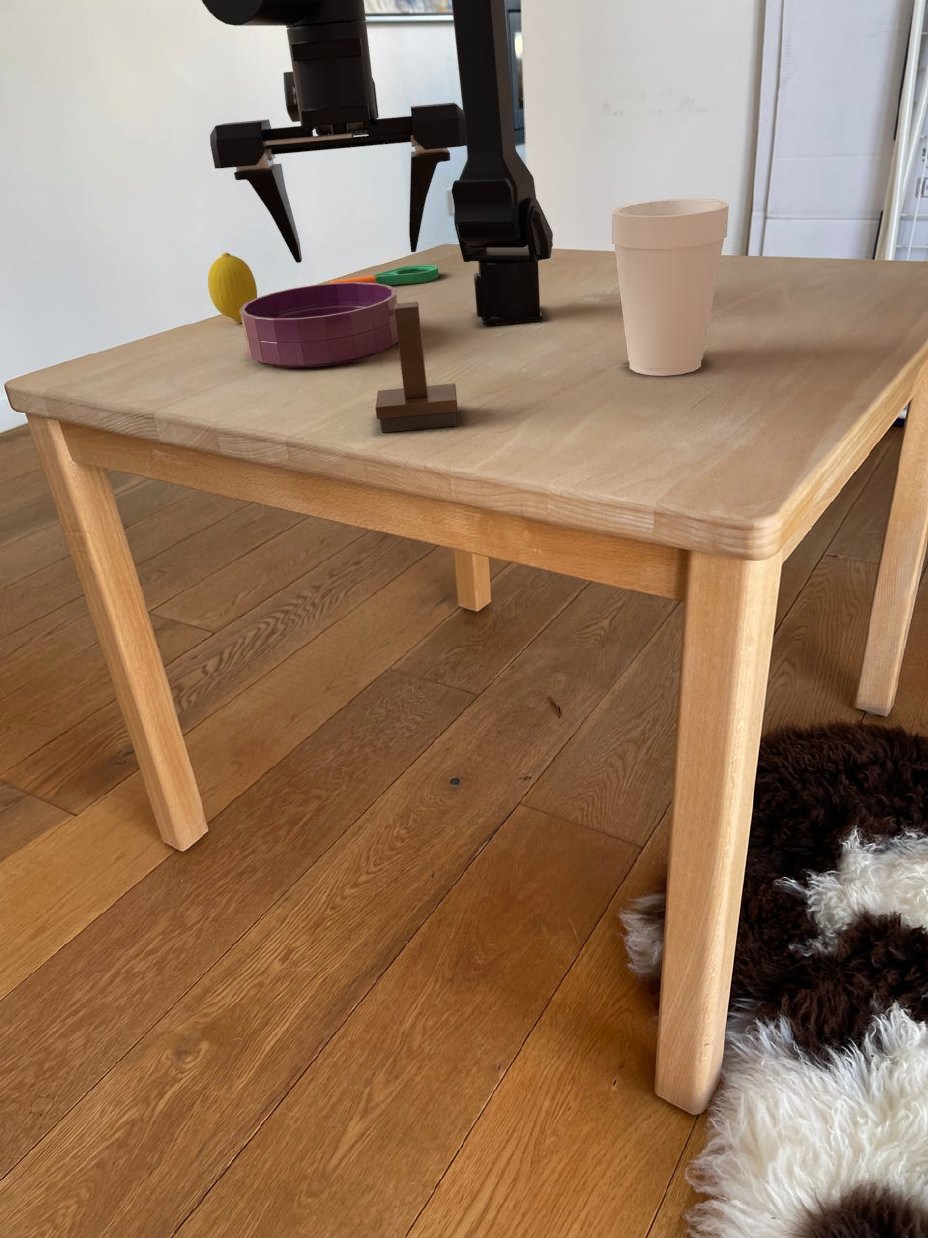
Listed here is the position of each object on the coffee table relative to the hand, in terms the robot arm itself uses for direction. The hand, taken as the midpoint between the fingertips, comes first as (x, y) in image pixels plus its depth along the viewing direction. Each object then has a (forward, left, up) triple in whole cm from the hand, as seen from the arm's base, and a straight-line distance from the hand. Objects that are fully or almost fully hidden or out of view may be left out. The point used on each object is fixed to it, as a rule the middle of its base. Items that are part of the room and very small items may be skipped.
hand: (356, 256), depth 74 cm
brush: (-4, +6, -12) cm, 14 cm away
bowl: (+6, -20, -12) cm, 24 cm away
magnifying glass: (+1, -50, -12) cm, 52 cm away
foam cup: (-26, -3, -12) cm, 29 cm away
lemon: (+18, -36, -12) cm, 42 cm away
